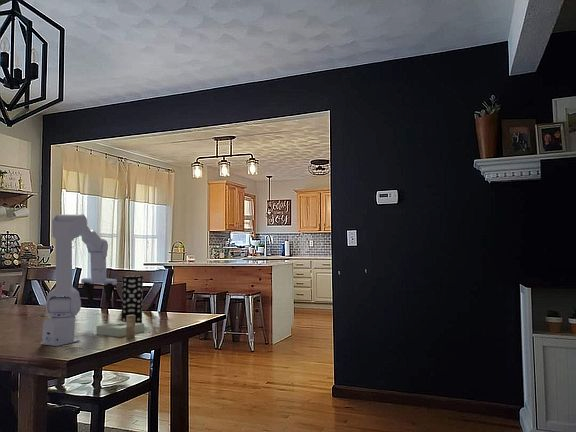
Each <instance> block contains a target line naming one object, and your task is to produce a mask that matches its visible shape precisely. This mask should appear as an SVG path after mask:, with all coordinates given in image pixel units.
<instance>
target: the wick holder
mask: <svg viewBox="0 0 576 432" xmlns="http://www.w3.org/2000/svg"><path fill="white" fill-rule="evenodd" d="M142 332H145V322H144V323H143V322H142V323H135V334H139V333H142ZM95 333H96V335H101V336H109V337H117V338H119V337H120V338H121V337H126V322H122V320H121V321H116V322H115V321H114V322H110V323H107V324H106V323H105V324H100V325H96V332H95Z"/></svg>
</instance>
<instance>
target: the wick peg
mask: <svg viewBox="0 0 576 432" xmlns="http://www.w3.org/2000/svg"><path fill="white" fill-rule="evenodd" d="M125 338H126V340H133V339H135V338H136V333H135V315H127V317H126V336H125Z"/></svg>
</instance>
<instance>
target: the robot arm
mask: <svg viewBox="0 0 576 432" xmlns="http://www.w3.org/2000/svg"><path fill="white" fill-rule="evenodd" d="M51 233H52V235H51V236H52V238H53V239H55V288H53V289H52V290H50V291H49V292H48V293H47V297H46V301H45V302H46V303H45V310H46V313H47V314H48V315H49V318H46V319H45V320H44V322H43V324H42V336H41V342H40V345H47V346H53V347H58V346H62V345H63V346H64V345H67V344H71V343H77V342H80V341H81V340H80V339H78V338H75V325H76V323H75V321H76V316H77V315H78V313H79V312H80V311H81V310H82V309H81V308H82V299H81V296H80V292H79V290H77V288H75V287H74V286H73V241H74V239H77V238H79V237H80V236H81V241H82V242H83V243H84V244H85V246H86V248H87V252H88V253H89V254H90V277H87V278H86V277H85V278H81V279H80V284H81V287H82V289H83V290H84V292H85V294H86V296H87V300H88V302H89V303H91V302H93V301H94V289H95V285H104V286H103V289H104V293H105V303H106V304H107V303H110V302H111V299H112V296H113V292H114V290H115V288H116V285H117V284H118V281H117V279H116V278H108V277H107V257H108V249H109V243H108V241H107V239H104V238H101V236H100V235H99V234H98V233H97V232H96V230H94V229H90V228H89V226H88V219H87V217H86V216H85V214H82V213H80V214H59V213H57V214H55V216H54V217H53V219H52V221H51Z"/></svg>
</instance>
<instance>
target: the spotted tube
mask: <svg viewBox="0 0 576 432" xmlns="http://www.w3.org/2000/svg"><path fill="white" fill-rule="evenodd" d="M121 283H122V286H121V321H122V322H126V317H127V315H135V323H143V299H144V298H143V295H144V294H143V293H144V291H143V289H144V284H143V283H144V275H123V276H122V280H121Z"/></svg>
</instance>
